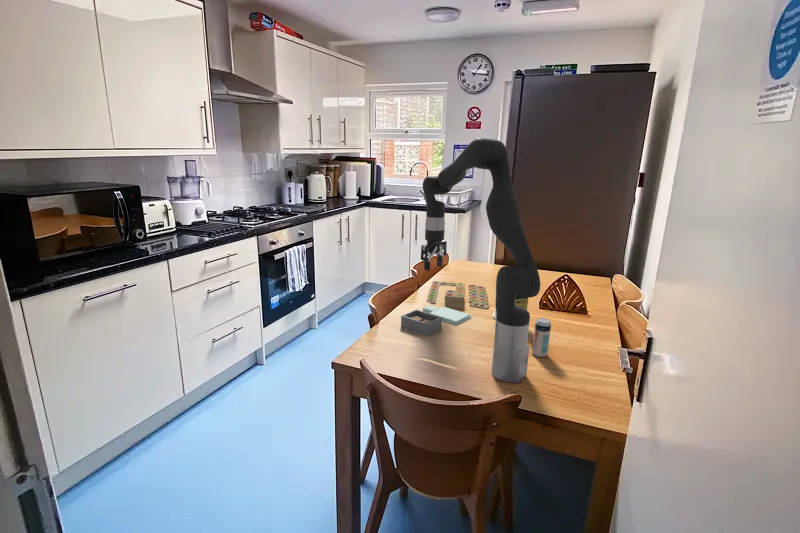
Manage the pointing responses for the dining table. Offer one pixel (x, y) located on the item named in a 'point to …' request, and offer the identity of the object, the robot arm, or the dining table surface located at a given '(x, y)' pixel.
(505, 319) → the robot arm
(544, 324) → the beer can
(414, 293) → the dining table surface
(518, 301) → the sauce bottle
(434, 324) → the tub
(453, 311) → the lid
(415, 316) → the walnut block
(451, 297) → the pile of dominoes
